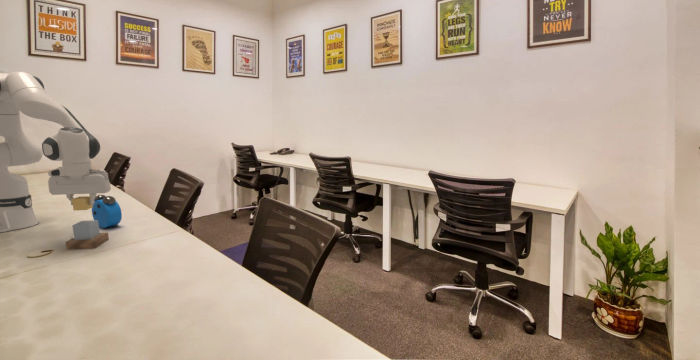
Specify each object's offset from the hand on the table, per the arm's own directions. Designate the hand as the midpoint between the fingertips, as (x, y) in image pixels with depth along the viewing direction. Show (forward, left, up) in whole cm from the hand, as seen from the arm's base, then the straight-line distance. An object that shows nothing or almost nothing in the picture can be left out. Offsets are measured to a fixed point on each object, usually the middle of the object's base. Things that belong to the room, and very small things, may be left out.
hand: (83, 204), depth 136 cm
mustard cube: (0, 0, -2) cm, 2 cm away
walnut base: (0, 0, -16) cm, 16 cm away
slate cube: (0, 0, -13) cm, 13 cm away
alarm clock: (-4, +23, -17) cm, 29 cm away
